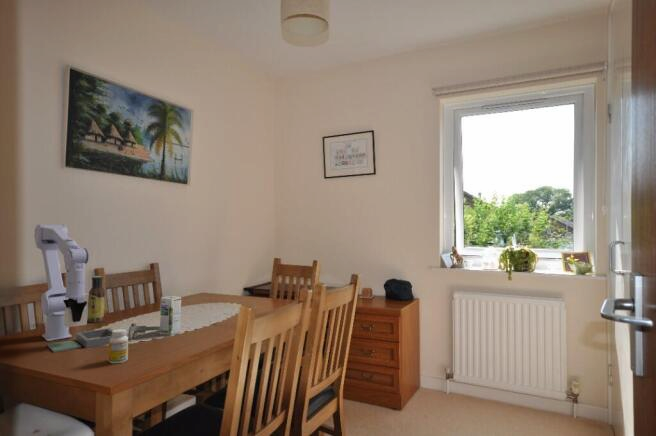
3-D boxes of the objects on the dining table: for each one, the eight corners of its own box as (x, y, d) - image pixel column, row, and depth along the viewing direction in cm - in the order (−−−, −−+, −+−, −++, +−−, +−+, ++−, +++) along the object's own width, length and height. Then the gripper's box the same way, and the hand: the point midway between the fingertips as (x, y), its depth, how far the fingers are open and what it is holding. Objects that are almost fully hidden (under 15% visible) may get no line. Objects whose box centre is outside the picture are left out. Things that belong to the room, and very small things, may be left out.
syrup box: (159, 334, 161) (159, 297, 161) (170, 330, 167) (170, 295, 167) (170, 335, 159) (171, 298, 159) (181, 332, 165) (181, 296, 165)
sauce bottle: (85, 321, 180) (86, 276, 180) (100, 318, 184) (101, 275, 185) (91, 323, 175) (92, 277, 176) (106, 321, 180) (107, 276, 181)
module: (64, 324, 145) (64, 306, 145) (83, 322, 149) (83, 304, 150) (67, 327, 142) (68, 308, 142) (86, 324, 146) (87, 306, 146)
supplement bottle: (113, 358, 132) (114, 328, 132) (130, 358, 133) (131, 328, 133) (105, 364, 127) (106, 332, 127) (123, 363, 127) (124, 332, 127)
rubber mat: (47, 345, 144) (47, 344, 144) (73, 341, 150) (73, 339, 150) (53, 352, 137) (53, 350, 137) (80, 347, 142) (80, 346, 142)
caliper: (130, 341, 152) (130, 324, 152) (128, 340, 152) (128, 324, 153) (171, 328, 171) (172, 313, 171) (169, 328, 171) (170, 313, 171)
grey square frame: (76, 339, 152) (76, 333, 152) (109, 334, 160) (109, 327, 160) (86, 348, 142) (86, 340, 142) (121, 341, 150) (121, 334, 150)
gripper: (94, 283, 143) (93, 321, 143) (82, 278, 154) (81, 315, 153) (71, 285, 138) (70, 325, 138) (60, 280, 149) (59, 317, 148)
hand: (74, 320), depth 145 cm, fingers closed on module, 4 cm apart
